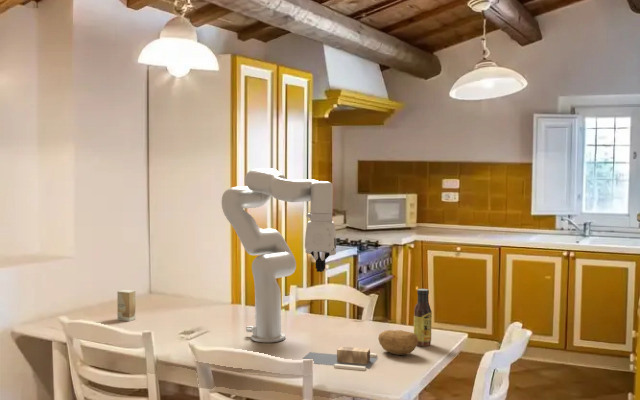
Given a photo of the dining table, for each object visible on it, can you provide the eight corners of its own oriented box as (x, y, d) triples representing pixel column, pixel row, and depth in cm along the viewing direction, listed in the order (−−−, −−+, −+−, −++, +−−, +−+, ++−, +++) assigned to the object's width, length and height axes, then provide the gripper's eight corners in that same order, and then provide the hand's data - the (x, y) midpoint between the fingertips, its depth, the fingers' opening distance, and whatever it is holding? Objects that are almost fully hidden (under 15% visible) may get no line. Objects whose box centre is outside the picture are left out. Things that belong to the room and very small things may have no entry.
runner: (295, 365, 228) (295, 361, 228) (311, 351, 243) (311, 348, 243) (367, 371, 220) (367, 368, 220) (379, 357, 236) (379, 353, 236)
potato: (385, 347, 248) (385, 325, 247) (422, 353, 240) (422, 330, 240) (372, 354, 239) (372, 331, 239) (410, 360, 232) (411, 336, 231)
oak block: (337, 349, 230) (367, 352, 227) (340, 346, 233) (370, 348, 230) (337, 361, 230) (367, 364, 227) (340, 358, 234) (370, 360, 231)
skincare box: (117, 320, 292) (116, 291, 291) (123, 318, 296) (123, 289, 295) (129, 321, 289) (129, 292, 288) (136, 319, 293) (135, 290, 292)
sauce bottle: (426, 348, 247) (427, 292, 245) (410, 345, 250) (410, 290, 249) (434, 343, 252) (434, 288, 251) (418, 341, 256) (418, 287, 254)
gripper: (296, 217, 238) (296, 271, 240) (338, 220, 233) (337, 274, 234) (304, 215, 245) (304, 267, 247) (345, 217, 240) (344, 271, 241)
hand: (320, 271), depth 240 cm, fingers closed
